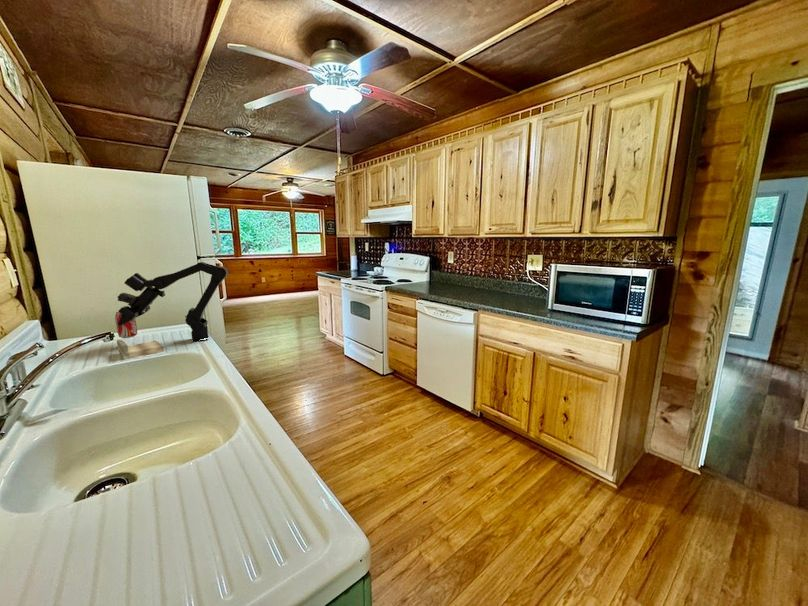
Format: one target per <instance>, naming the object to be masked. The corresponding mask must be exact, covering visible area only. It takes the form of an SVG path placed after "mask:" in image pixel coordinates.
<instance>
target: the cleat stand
mask: <svg viewBox="0 0 808 606" xmlns="http://www.w3.org/2000/svg"><path fill="white" fill-rule="evenodd" d="M116 344H117V349H118V354H119V355H120V356H121V357H122V358H123V359H124V360H129V359H134V358H139V357H143V356H146V355H151V354H157V353H161V352H164V345H162V344H161V343H160V342H159V341H157V340H151V341H145V342H142V343H136V344H132V345H131V344H130V345H128V344H127V343H126V342H125V341H124V340H123V339H117V340H116Z"/></svg>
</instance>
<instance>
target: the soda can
mask: <svg viewBox="0 0 808 606" xmlns="http://www.w3.org/2000/svg"><path fill="white" fill-rule="evenodd" d="M121 316H122V314H121V313H120V312H119V311H116V312H115V316H114V321H115V326H116V331H117V335H118V337H119V338H120V339H130V338H131V339H132V338H135V336H137V335H138V326H137V320H136V318H135V319H133V320H131V321H129V322H127V323H125V324H123V325H121V326H119V325H118V322H119V320H120V318H121Z"/></svg>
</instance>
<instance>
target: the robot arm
mask: <svg viewBox="0 0 808 606" xmlns="http://www.w3.org/2000/svg"><path fill="white" fill-rule="evenodd" d="M199 272H203V273H206V274H209V275H211V277H210V281H209V284H208V285H207V287H206V289H205V290H204V292H203V294H202V295H201V297H200V298H199V300H198V303H197V304H196V306H195V308H194V307H191V308H190V309H188V311H187V314H186V315H185V316H184V317H185V319H184V320H185V323H186V325H187V326H189V327H190V329H191V331H190V333H191V341H196V342H200V341H199V340H200V339H204V338H208V337H209V338H210V335H209V330H208V329H209V328H208V322H209V321H208V320H207V319H205V318H204V314H205V310H206V308H207V307H208V304H209V302H210V300H211V299H212V297H213V295H214V294H215V292H216V291H217V288H218V287H219V286H220V284H221V283H223V281H224V280H225V279H226V278H227V277H228V275H229V271H228V268H227V267H225V266H217V265H213V264H210V263H207V262H205V261H200V262H198V263H196V264H193V265H191V266H188V267H186V268H183V269H181V270H179V271H175V272H173V273H168V274H165V275H160V276H157V277H154V278H151V279H148V280H147V279H146V278H145V277H144V276H142V275H141V274H140V273H139V272H136V273H134V274H133V275H131V276H130V277H129V278H127V279H126V280H125V281H124V282H123V283H124V284H125V285H126V286H127V287H129V288H131V289H132V290H134V291H135V292H140V294H139V295H133V294H130V293H127V292H120V293H119V295H117V302H122V303H126V304H127V306H125V305H124V306H122V307H121V308H120V309H118V312H120V313H121V314H122V316H121V318H120V320H119V322H118V325H119V326H121V325H123V324H125V323H127V322H129V321H131V320H133V319H135V320H136V318H138V317H141V316H142V315H144V314H146V313H148V312H149V311H150V310H151V306H150V305H152V304H153V302H154V301H155V300H156V299H157V298H158V297H161V298H163V297H165V296H166V293H165V290H163V289H167V288H169V286H171V285H173V284H174V283H176V282H177V281H180V280H182V279H184V278H186V277H189V276H191V275H194V274H197V273H199Z"/></svg>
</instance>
